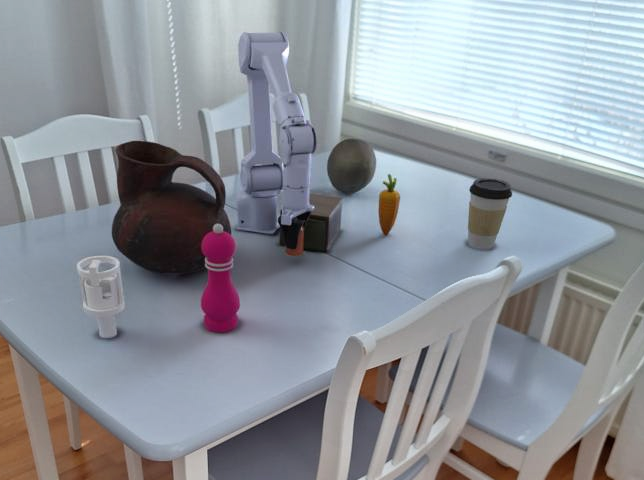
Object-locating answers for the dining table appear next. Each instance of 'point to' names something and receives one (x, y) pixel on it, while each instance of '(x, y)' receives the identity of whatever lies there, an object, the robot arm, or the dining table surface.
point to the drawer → (313, 234)
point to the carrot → (388, 206)
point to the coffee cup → (486, 211)
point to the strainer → (102, 292)
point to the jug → (164, 209)
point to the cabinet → (325, 216)
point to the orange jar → (299, 249)
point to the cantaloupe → (351, 165)
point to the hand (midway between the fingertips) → (294, 244)
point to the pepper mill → (219, 282)
